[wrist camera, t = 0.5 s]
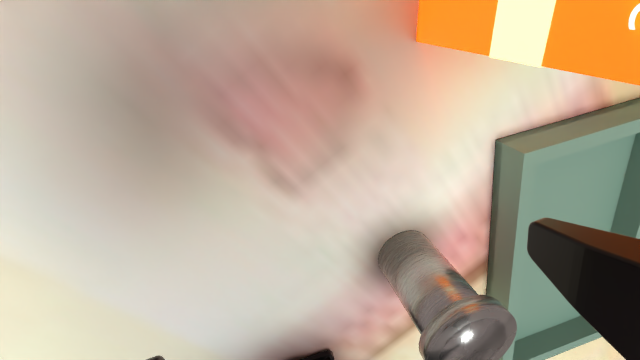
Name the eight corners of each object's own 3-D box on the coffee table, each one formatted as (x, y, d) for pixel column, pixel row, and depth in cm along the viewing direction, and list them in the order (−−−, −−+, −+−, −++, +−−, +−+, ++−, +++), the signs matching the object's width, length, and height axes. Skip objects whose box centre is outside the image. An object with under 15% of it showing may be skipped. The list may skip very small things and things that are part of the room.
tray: (590, 311, 36) (614, 331, 33) (482, 353, 34) (500, 377, 32) (647, 95, 25) (688, 104, 23) (495, 139, 23) (524, 153, 21)
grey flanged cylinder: (437, 269, 27) (512, 360, 20) (374, 291, 27) (430, 393, 20) (436, 214, 25) (521, 296, 18) (366, 236, 24) (426, 330, 17)
